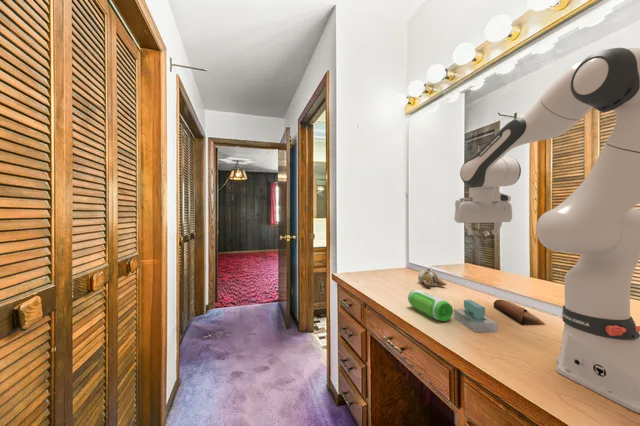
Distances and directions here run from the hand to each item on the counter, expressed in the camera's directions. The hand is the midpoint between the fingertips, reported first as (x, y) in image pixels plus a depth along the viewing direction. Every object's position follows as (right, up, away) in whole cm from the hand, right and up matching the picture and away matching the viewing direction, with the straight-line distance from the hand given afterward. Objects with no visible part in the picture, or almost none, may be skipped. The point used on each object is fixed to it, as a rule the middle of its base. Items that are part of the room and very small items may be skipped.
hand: (483, 234), depth 105 cm
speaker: (-19, -30, +1) cm, 36 cm away
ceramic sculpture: (-4, -30, +41) cm, 51 cm away
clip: (-8, -30, -9) cm, 32 cm away
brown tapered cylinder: (+12, -30, -2) cm, 32 cm away
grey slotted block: (-8, -30, -9) cm, 32 cm away
